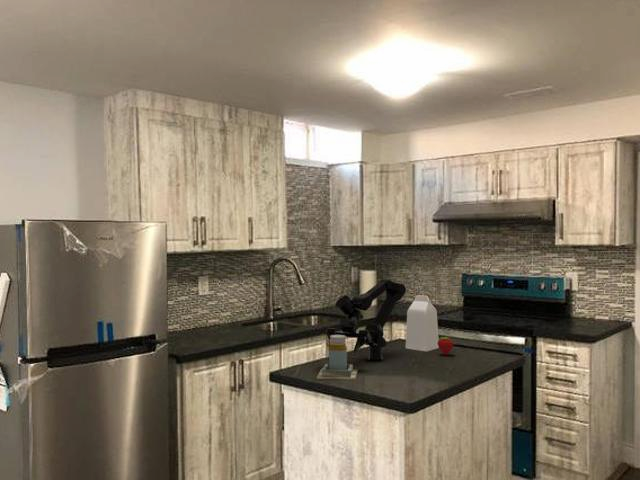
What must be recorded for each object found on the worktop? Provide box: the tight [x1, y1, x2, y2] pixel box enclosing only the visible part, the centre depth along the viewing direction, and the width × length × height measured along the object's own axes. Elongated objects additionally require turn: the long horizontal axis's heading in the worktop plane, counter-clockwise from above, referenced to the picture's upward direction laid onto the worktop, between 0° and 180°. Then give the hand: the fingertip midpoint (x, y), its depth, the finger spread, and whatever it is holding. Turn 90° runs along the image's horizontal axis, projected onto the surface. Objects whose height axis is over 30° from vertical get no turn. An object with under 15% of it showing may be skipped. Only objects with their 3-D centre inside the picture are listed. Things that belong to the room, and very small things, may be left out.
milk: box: [405, 294, 440, 352], centre depth 282 cm, size 12×12×26 cm
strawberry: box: [437, 336, 454, 356], centre depth 265 cm, size 6×8×10 cm
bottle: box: [328, 335, 348, 370], centre depth 230 cm, size 7×7×15 cm
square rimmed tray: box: [316, 363, 359, 381], centre depth 230 cm, size 15×15×3 cm
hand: (343, 352), depth 236 cm, fingers open, 9 cm apart
